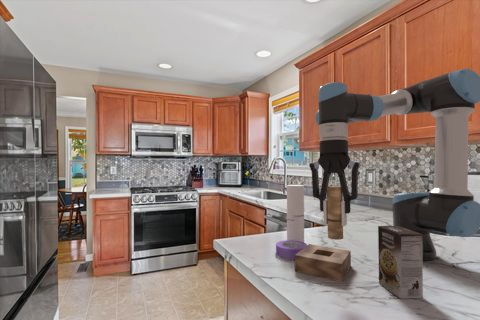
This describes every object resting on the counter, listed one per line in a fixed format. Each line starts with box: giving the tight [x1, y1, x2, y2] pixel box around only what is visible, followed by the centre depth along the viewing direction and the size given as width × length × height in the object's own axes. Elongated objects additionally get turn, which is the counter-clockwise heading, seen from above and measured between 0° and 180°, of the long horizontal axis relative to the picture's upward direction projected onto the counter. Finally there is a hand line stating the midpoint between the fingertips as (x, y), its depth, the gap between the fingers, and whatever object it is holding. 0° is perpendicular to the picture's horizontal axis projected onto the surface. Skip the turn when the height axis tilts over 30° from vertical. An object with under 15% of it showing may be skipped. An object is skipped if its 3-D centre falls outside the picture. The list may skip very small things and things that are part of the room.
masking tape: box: [275, 239, 308, 260], centre depth 98 cm, size 12×12×4 cm
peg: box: [326, 185, 344, 241], centre depth 72 cm, size 4×4×14 cm
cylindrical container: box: [286, 184, 305, 243], centre depth 110 cm, size 7×7×25 cm
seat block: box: [294, 243, 352, 283], centre depth 84 cm, size 14×14×5 cm
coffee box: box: [377, 225, 424, 300], centre depth 69 cm, size 9×6×16 cm
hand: (335, 224), depth 72 cm, fingers closed on peg, 4 cm apart
